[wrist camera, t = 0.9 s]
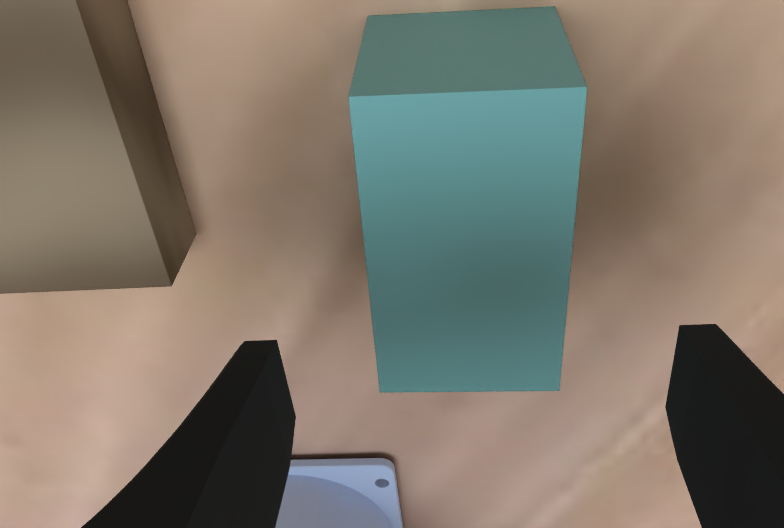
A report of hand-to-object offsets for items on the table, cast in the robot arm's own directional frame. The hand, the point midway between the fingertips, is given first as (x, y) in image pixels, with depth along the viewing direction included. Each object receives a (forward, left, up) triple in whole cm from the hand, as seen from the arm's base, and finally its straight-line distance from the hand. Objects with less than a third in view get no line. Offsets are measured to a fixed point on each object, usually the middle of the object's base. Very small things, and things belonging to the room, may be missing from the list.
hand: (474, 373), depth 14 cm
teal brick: (0, 0, -8) cm, 9 cm away
